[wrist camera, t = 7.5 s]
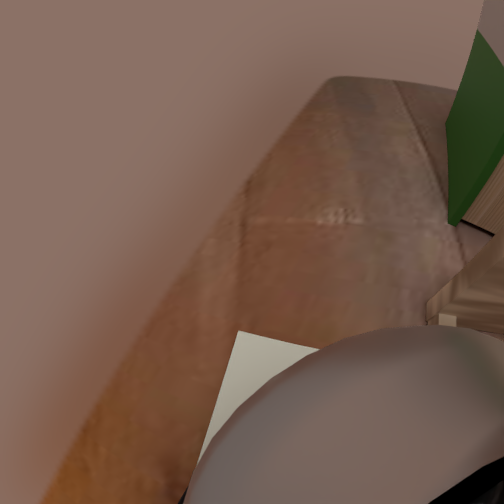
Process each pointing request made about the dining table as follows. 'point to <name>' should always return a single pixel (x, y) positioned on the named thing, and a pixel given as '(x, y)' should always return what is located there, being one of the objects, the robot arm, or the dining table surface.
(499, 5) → the hardback book
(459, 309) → the birch rack
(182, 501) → the robot arm
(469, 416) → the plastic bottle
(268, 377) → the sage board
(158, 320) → the dining table surface
